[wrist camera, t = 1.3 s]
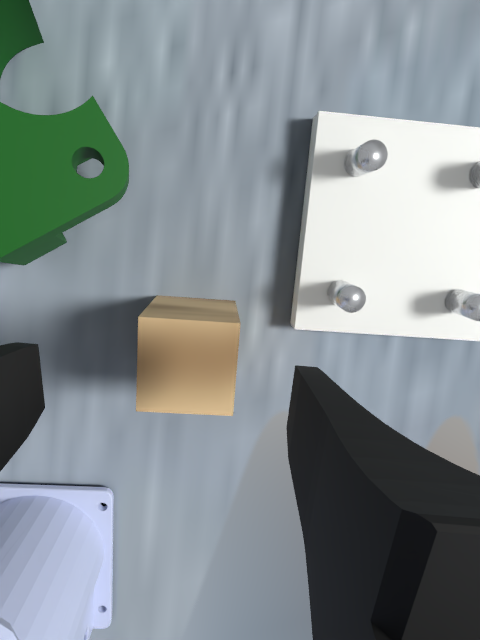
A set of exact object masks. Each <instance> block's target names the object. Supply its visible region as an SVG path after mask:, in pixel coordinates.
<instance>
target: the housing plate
mask: <svg viewBox="0 0 480 640" xmlns="http://www.w3.org/2000/svg"><path fill="white" fill-rule="evenodd" d="M290 324H291V325H292V326H293V328H294V329H300V330H315V331H331V332H346V333H362V334H377V335H393V336H408V337H424V338H440V339H455V340H471V341H480V128H478V127H468V126H459V125H449V124H440V123H430V122H420V121H411V120H401V119H392V118H382V117H372V116H363V115H353V114H344V113H334V112H324V111H319V112H318V113H317V114H316V115H315V116H314V118H313V122H312V131H311V140H310V149H309V159H308V168H307V177H306V186H305V195H304V204H303V213H302V222H301V231H300V240H299V249H298V258H297V267H296V277H295V286H294V295H293V304H292V313H291V322H290Z"/></svg>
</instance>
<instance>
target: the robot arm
mask: <svg viewBox="0 0 480 640" xmlns="http://www.w3.org/2000/svg"><path fill="white" fill-rule="evenodd" d="M44 408H45V403H44V394H43V385H42V376H41V366H40V357H39V348H38V344H28V343H10V344H5V345H1V346H0V471H1V470H2V469H3V467H4V466H5V465H6V464H7V463H8V461H9V460H10V459H11V458H12V456H13V455H14V454H15V453H16V451H17V450H18V449H19V448H20V446H21V445H22V444H23V442H24V441H25V440H26V439H27V437H28V436H29V434H30V433H31V431H32V429H33V428H34V426H35V424H36V423H37V421H38V419H39V417H40V416H41V414H42V412H43V410H44ZM287 443H288V458H289V464H290V469H291V474H292V480H293V485H294V490H295V495H296V500H297V505H298V510H299V516H300V521H301V526H302V531H303V538H304V544H305V552H306V563H307V573H308V584H309V596H310V609H311V621H312V634H313V640H480V476H479V475H477V474H475V473H472V472H470V471H468V470H466V469H464V468H462V467H460V466H457V465H455V464H453V463H451V462H449V461H447V460H445V459H444V458H442V457H440V456H438V455H436V454H434V453H432V452H430V451H428V450H426V449H425V448H423V447H421V446H419V445H418V444H416V443H414V442H412V441H411V440H409V439H408V438H406V437H405V436H403V435H401V434H400V433H398V432H397V431H395V430H394V429H392V428H391V427H389V426H388V425H386V424H385V423H383V422H382V421H381V420H379V419H378V418H377V417H375V416H374V415H373V414H371V413H370V412H369V411H367V410H366V409H365V408H364V407H362V406H361V405H360V404H359V403H357V402H356V401H355V400H354V399H353V398H352V397H350V396H349V395H348V394H347V393H346V392H345V391H344V390H342V389H341V388H340V387H339V386H338V385H337V384H336V383H335V382H334V381H333V380H331V379H330V378H329V377H328V376H327V375H326V374H325V373H324V372H323V371H321V370H320V369H319V368H317V367H307V366H295V372H294V379H293V386H292V393H291V400H290V407H289V415H288V422H287ZM113 496H114V495H113V492H112V490H111V489H109V488H106V487H87V486H58V485H29V484H0V640H89V638H90V635H91V632H92V629H104V628H107V627H109V625H110V624H111V620H112V586H113ZM100 503H105V504H107V506H102V505H101V504H100ZM103 606H105V607H103Z"/></svg>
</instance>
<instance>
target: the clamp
mask: <svg viewBox="0 0 480 640" xmlns="http://www.w3.org/2000/svg"><path fill="white" fill-rule="evenodd" d="M40 43H44V41H43V39H42V36H41V33H40V30H39V28H38V25H37V22H36V19H35V16H34V14H33V11H32V8H31V5H30V3H29V0H0V78H1V75H2V72H3V70H4V68H5V66H6V65H7V63H8V62H9V61H10V59H11V58H12V57H13V56H15V55H16V54H17V53H18V52H20V51H22V50H23V49H26V48H28V47H31V46H34V45H37V44H40ZM91 158H94V159H97V160H99V161H100V162H101V163H102V164H103V165H104V169H103V171H102V173H101V174H100V175H99V176H97V177H95V178H91V179H89V178H84V177H82V176H80V175H79V174H77V166H78V165H79V164H81V163H83V162H85V161H87V160H89V159H91ZM128 182H129V163H128V158H127V155H126V152H125V150H124V148H123V146H122V144H121V143H120V141H119V139H118V138H117V136H116V134H115V133H114V131H113V129H112V128H111V126H110V124H109V122H108V121H107V119H106V117H105V116H104V114H103V112H102V111H101V109H100V107H99V105H98V104H97V102H96V100H95V99H94V97H93V96H92V97H91V98H90V99H89V100H88V101H87V102H85V103H84V104H83V105H81V106H79V107H78V108H76V109H74V110H71V111H69V112H66V113H62V114H57V115H34V114H29V113H24V112H21V111H18V110H15V109H13V108H11V107H8V106H7V105H5V104H3V103H1V102H0V262H4V263H11V264H19V265H26V264H28V263H30V262H32V261H33V260H35V259H37V258H39V257H41V256H43V255H44V254H46V253H48V252H50V251H52V250H54V249H56V248H57V247H59V246H61V245H63V244H65V243H67V241H66V239H65V237H64V235H63V233H62V232H64V231H66V230H68V229H70V228H71V227H73V226H75V225H77V224H79V223H81V222H83V221H84V220H86V219H88V218H90V217H92V216H94V215H96V214H97V213H99V212H101V211H103V210H105V209H107V208H109V207H110V206H112V205H114V204H115V203H117V202H118V201H119V200H120V199H121V198H122V197H123V195H124V194H125V192H126V189H127V187H128Z"/></svg>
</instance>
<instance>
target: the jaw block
mask: <svg viewBox="0 0 480 640" xmlns="http://www.w3.org/2000/svg"><path fill="white" fill-rule="evenodd" d="M239 334H240V320H239V316H238V311H237V307H236V303H235V301H230V300H215V299H201V298H186V297H171V296H156V297H155V298H154V299H153V301H152V302H151V303H150V304H149V305H148V306H147V307H146V309H145V310H144V311H143V312H142V313H141V314H140V315H139V317H138V350H137V394H136V411H141V412H162V413H183V414H204V415H225V416H233V407H234V395H235V383H236V371H237V358H238V346H239Z"/></svg>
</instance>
